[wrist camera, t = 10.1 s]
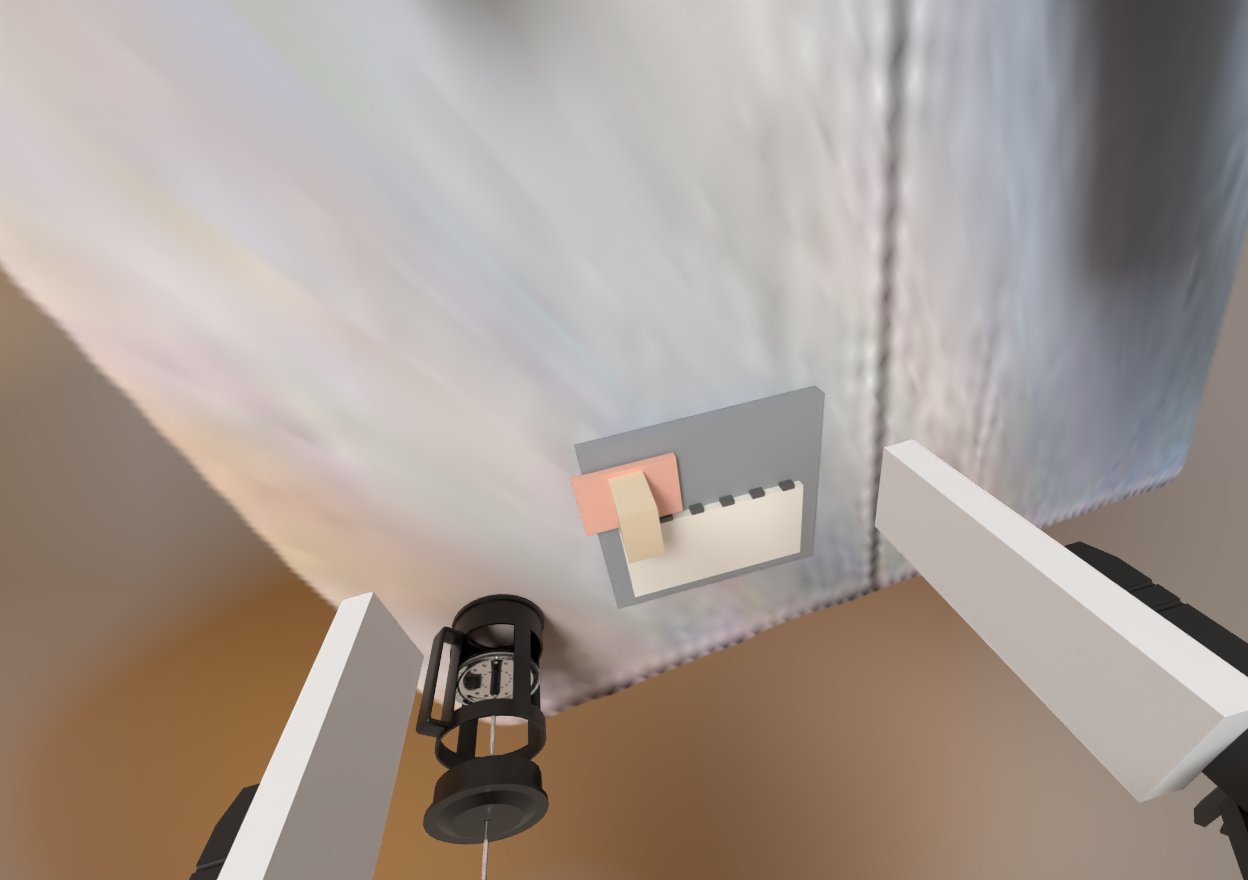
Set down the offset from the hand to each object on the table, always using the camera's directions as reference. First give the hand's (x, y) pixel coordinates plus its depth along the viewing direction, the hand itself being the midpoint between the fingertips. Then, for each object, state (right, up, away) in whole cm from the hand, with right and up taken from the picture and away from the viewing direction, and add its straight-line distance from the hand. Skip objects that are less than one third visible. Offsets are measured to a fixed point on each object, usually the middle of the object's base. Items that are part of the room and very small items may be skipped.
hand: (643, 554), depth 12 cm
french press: (-14, -16, +36) cm, 42 cm away
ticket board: (+8, -3, +33) cm, 34 cm away
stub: (0, -2, +28) cm, 28 cm away
